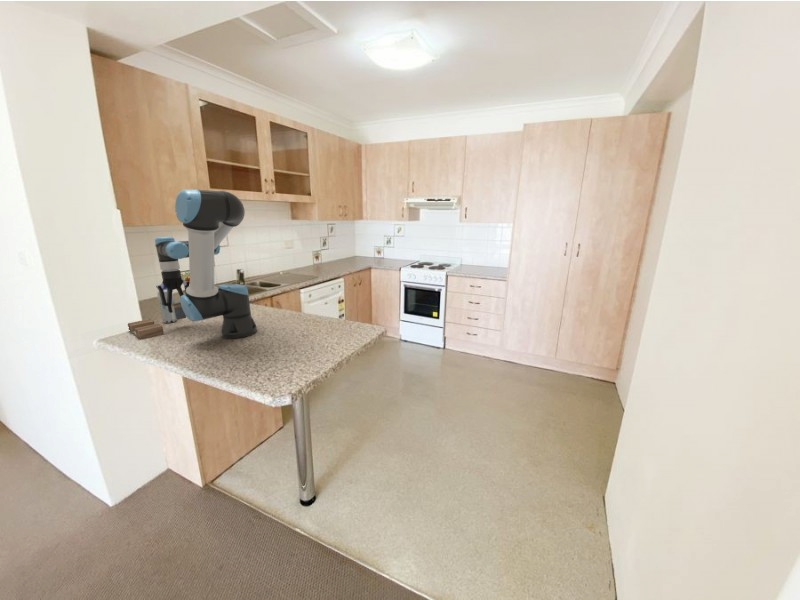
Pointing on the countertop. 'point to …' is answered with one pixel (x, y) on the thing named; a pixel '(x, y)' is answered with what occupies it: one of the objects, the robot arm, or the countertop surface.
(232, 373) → the countertop surface
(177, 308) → the grey rectangular block
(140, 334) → the brown ridged block
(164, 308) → the bottle
